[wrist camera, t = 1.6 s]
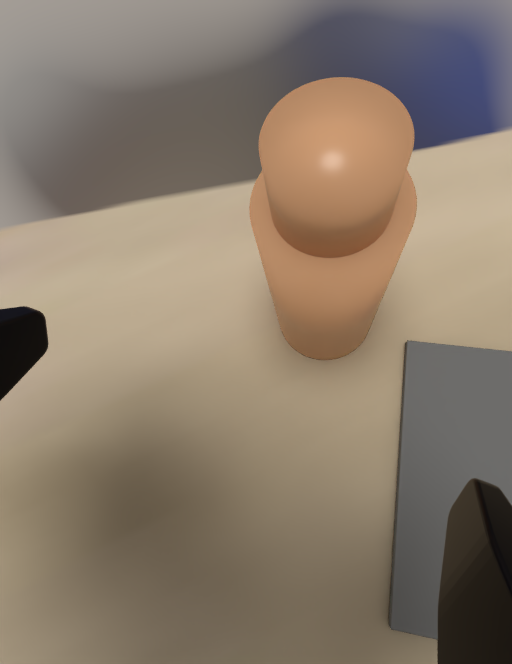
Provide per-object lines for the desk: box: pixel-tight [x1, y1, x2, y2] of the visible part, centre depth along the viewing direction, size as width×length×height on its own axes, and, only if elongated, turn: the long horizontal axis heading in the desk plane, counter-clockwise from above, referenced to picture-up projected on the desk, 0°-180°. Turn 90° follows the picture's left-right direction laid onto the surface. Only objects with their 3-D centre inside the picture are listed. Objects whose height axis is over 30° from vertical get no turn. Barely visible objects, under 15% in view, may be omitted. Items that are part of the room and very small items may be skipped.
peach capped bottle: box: [250, 77, 417, 360], centre depth 15 cm, size 5×5×12 cm
